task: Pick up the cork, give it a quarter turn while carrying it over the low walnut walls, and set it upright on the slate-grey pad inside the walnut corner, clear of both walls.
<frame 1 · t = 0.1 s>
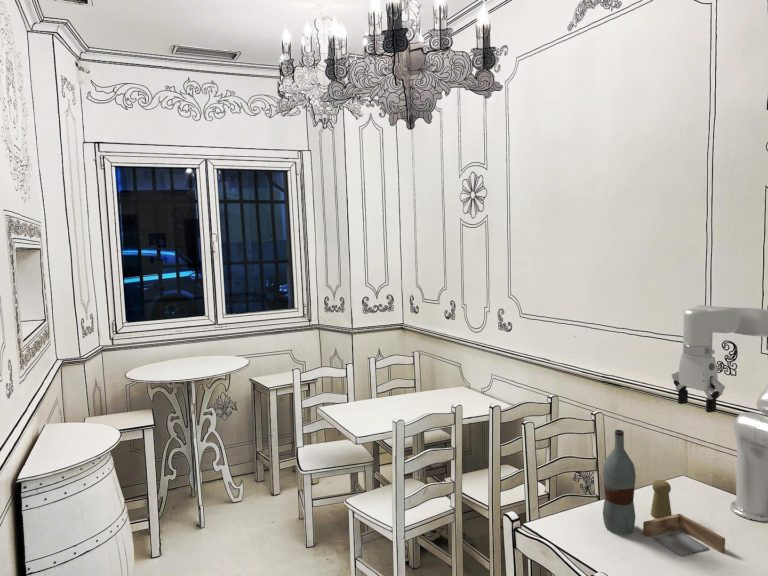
hand: (696, 407, 167), 37 cm above the table, tool pointing down, fingers open, 9 cm apart
corner arena: (680, 543, 161), on the table
cork: (661, 516, 177), on the table
bottle: (618, 528, 171), on the table
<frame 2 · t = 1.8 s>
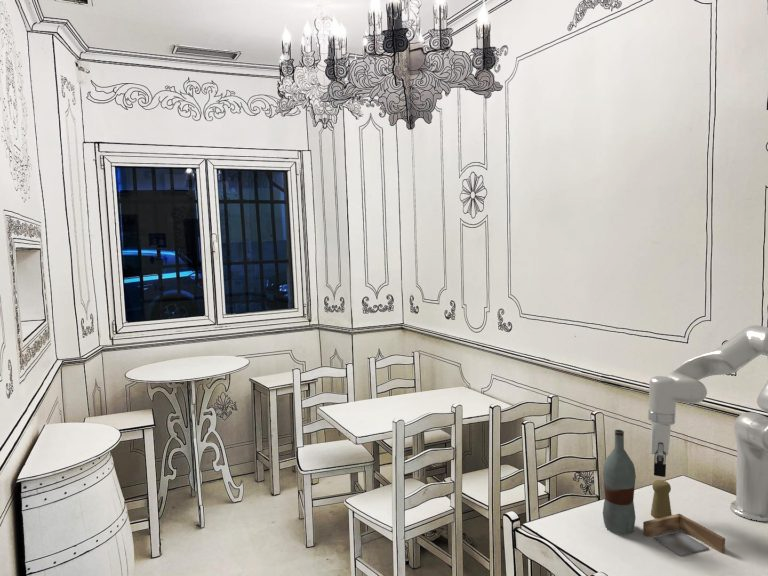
hand: (659, 470, 176), 15 cm above the table, tool pointing down, fingers open, 9 cm apart
nothing on the table moved.
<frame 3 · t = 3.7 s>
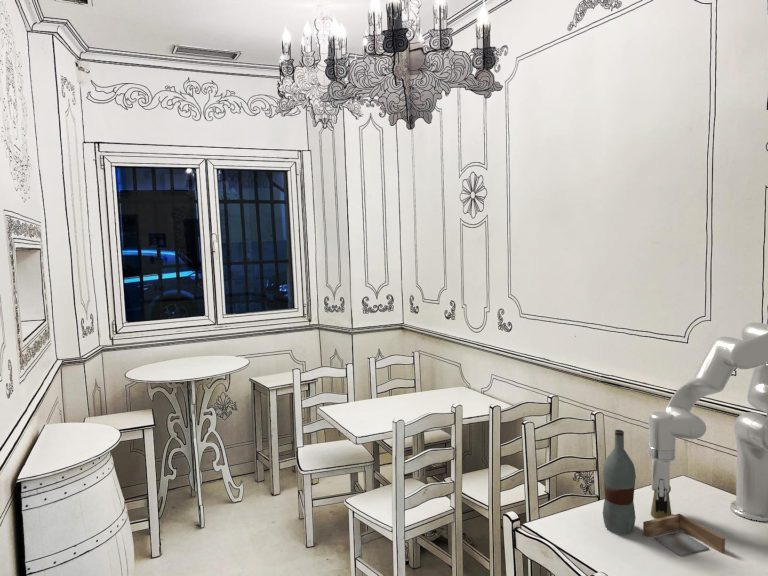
hand: (661, 508, 177), 2 cm above the table, tool pointing down, fingers closed on cork, 3 cm apart
cork: (661, 516, 177), on the table, touching gripper
everything else where it was.
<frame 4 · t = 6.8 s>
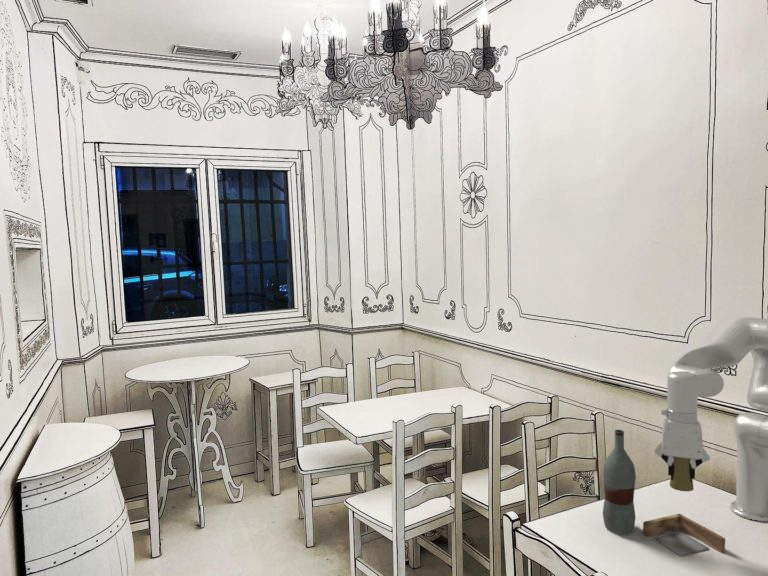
hand: (681, 478, 159), 19 cm above the table, tool pointing down, fingers closed on cork, 3 cm apart
cork: (681, 487, 159), point 17 cm above the table, touching gripper
everything else where it was.
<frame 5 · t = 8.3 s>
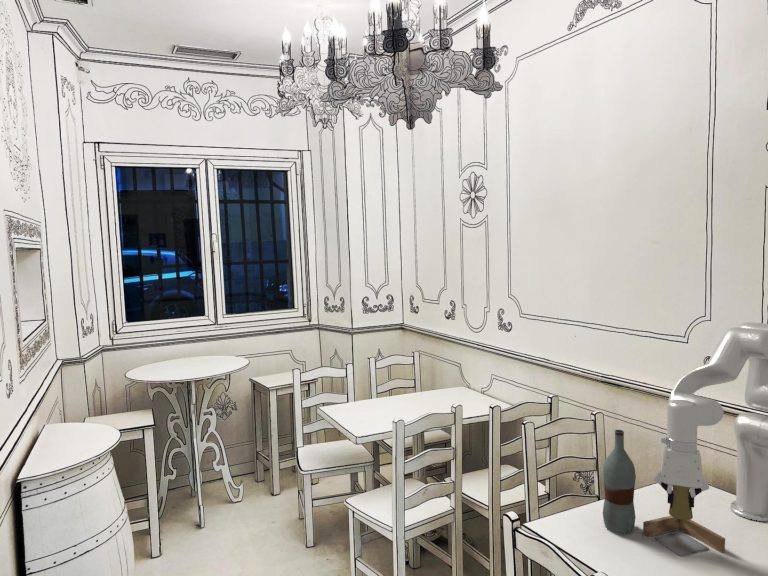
hand: (680, 506, 160), 11 cm above the table, tool pointing down, fingers closed on cork, 3 cm apart
cork: (680, 515, 160), point 8 cm above the table, touching gripper
everything else where it was.
when the fingers open (5 cm above the table, at t = 9.9 s): cork stays where it is, resting on corner arena.
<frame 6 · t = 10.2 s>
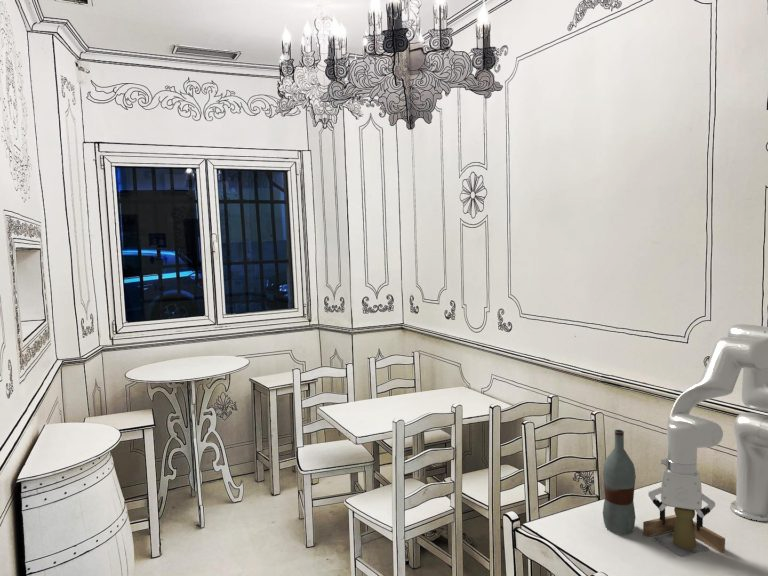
hand: (680, 525, 160), 5 cm above the table, tool pointing down, fingers open, 8 cm apart
cork: (684, 543, 160), resting on corner arena
everything else where it was.
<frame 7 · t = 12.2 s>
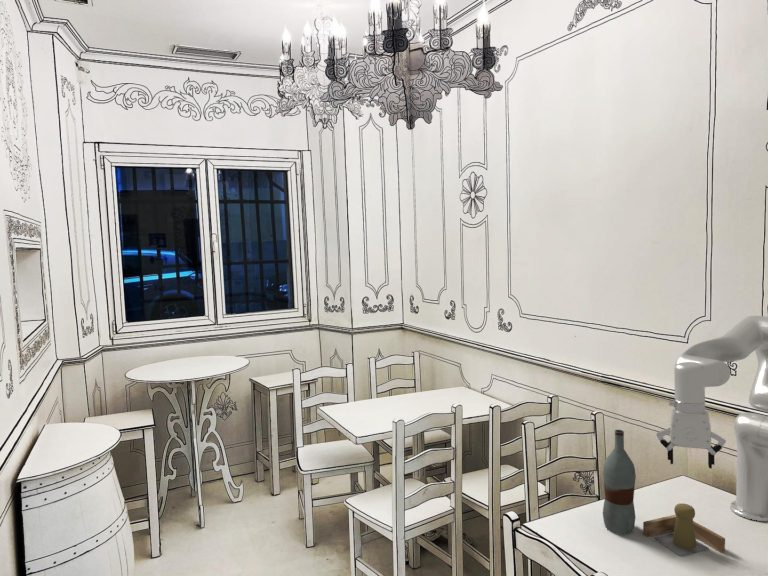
hand: (690, 464, 161), 22 cm above the table, tool pointing down, fingers open, 9 cm apart
nothing on the table moved.
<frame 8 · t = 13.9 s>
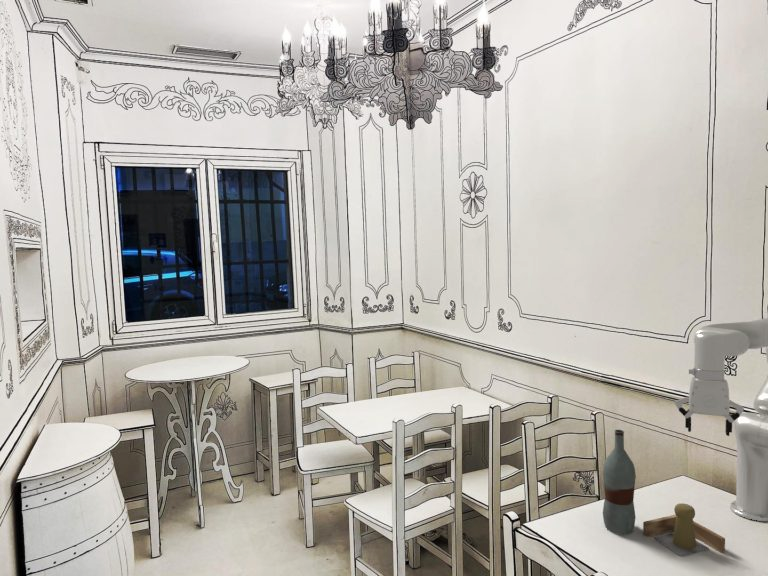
hand: (708, 432, 164), 30 cm above the table, tool pointing down, fingers open, 9 cm apart
nothing on the table moved.
at the end: cork 1.0 cm off-centre on the corner arena, point 0.2 cm above the corner arena's base; cork tilted 0°; the gripper is holding nothing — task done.
